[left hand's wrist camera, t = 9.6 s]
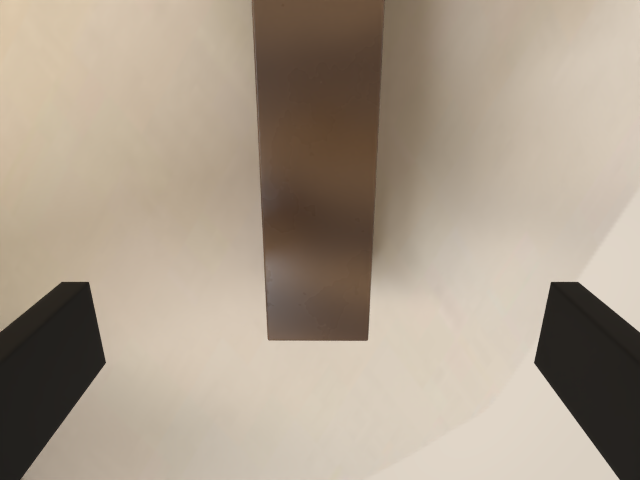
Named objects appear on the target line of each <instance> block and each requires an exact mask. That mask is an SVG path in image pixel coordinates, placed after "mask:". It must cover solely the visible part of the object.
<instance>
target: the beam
mask: <svg viewBox="0 0 640 480" xmlns="http://www.w3.org/2000/svg"><path fill="white" fill-rule="evenodd" d="M384 4H385V0H252V15H253V36H254V58H255V79H256V100H257V121H258V142H259V164H260V185H261V206H262V227H263V249H264V270H265V291H266V312H267V334H268V340H317V341H367V340H368V330H369V310H370V290H371V269H372V249H373V228H374V208H375V188H376V167H377V147H378V127H379V106H380V86H381V65H382V45H383V25H384Z"/></svg>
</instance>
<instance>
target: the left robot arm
mask: <svg viewBox="0 0 640 480" xmlns="http://www.w3.org/2000/svg"><path fill="white" fill-rule="evenodd" d="M105 363H106V361H105V357H104V352H103V347H102V342H101V337H100V333H99V328H98V323H97V318H96V314H95V309H94V304H93V299H92V295H91V290H90V285H89V282H61V283H60V284H59V285H58V286H56V287H55V288H54V289H53V290H52V291H50V292H49V293H48V294H47V295H45V296H44V297H43V298H42V299H41V300H39V301H38V302H37V303H36V304H34V305H33V306H32V307H31V308H30V309H28V310H27V311H26V312H25V313H23V314H22V315H21V316H20V317H19V318H17V319H16V320H15V321H14V322H12V323H11V324H10V325H9V326H8V327H6V328H5V329H4V330H3V331H1V332H0V480H20V479H21V478H22V477H23V475H24V474H25V472H26V471H27V470H28V468H29V467H30V466H31V464H32V463H33V462H34V460H35V459H36V457H37V456H38V455H39V453H40V452H41V451H42V449H43V448H44V447H45V445H46V444H47V442H48V441H49V440H50V438H51V437H52V436H53V434H54V433H55V432H56V430H57V429H58V427H59V426H60V425H61V423H62V422H63V421H64V419H65V418H66V417H67V415H68V414H69V412H70V411H71V410H72V408H73V407H74V406H75V404H76V403H77V402H78V400H79V399H80V397H81V396H82V395H83V393H84V392H85V391H86V389H87V388H88V387H89V385H90V384H91V382H92V381H93V380H94V378H95V377H96V376H97V374H98V373H99V372H100V370H101V369H102V367H103V366H104V365H105ZM534 363H535V365H536V366H537V367H538V369H539V370H540V372H541V373H542V374H543V376H544V377H545V378H546V380H547V381H548V382H549V384H550V385H551V387H552V388H553V389H554V391H555V392H556V393H557V395H558V396H559V397H560V399H561V400H562V402H563V403H564V404H565V406H566V407H567V408H568V410H569V411H570V412H571V414H572V415H573V416H574V418H575V419H576V421H577V422H578V423H579V425H580V426H581V427H582V429H583V430H584V432H585V433H586V434H587V436H588V437H589V438H590V440H591V441H592V442H593V444H594V445H595V446H596V448H597V449H598V451H599V452H600V453H601V455H602V456H603V457H604V459H605V460H606V462H607V463H608V464H609V466H610V467H611V468H612V470H613V471H614V472H615V474H616V475H617V477H618V478H619V479H620V480H640V332H639V331H637V330H636V329H635V328H634V327H632V326H631V325H630V324H629V323H627V322H626V321H625V320H624V319H623V318H621V317H620V316H619V315H618V314H617V313H615V312H614V311H613V310H612V309H610V308H609V307H608V306H607V305H606V304H604V303H603V302H602V301H601V300H599V299H598V298H597V297H596V296H595V295H593V294H592V293H591V292H590V291H588V290H587V289H586V288H585V287H584V286H582V285H581V284H580V283H579V282H551V285H550V290H549V295H548V299H547V304H546V309H545V314H544V318H543V323H542V328H541V333H540V337H539V342H538V347H537V352H536V357H535V361H534Z"/></svg>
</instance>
